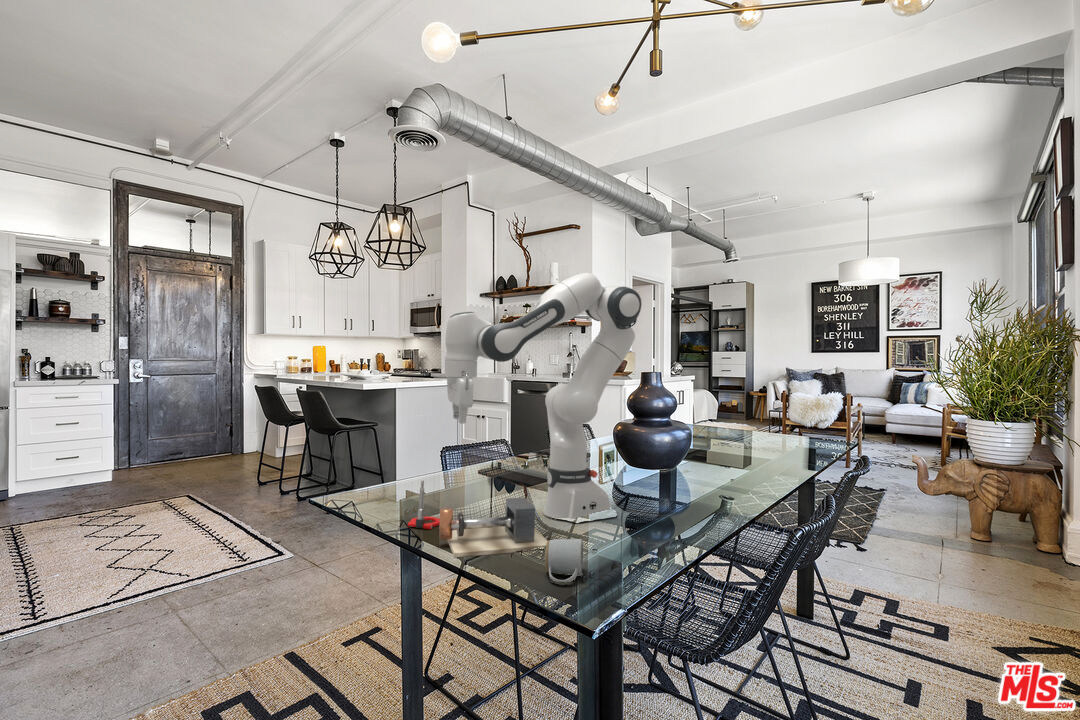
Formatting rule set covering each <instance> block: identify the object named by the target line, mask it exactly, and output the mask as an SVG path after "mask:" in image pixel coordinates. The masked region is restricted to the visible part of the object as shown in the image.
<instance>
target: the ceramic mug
mask: <svg viewBox="0 0 1080 720" xmlns="http://www.w3.org/2000/svg"><path fill="white" fill-rule="evenodd" d="M547 541H548V542H547V543H546V549H544V567H545V570H546V572H547V573H548V572H549V573H548V577H550V578H549V579H552V580H553V581H556V582H565V583H566V582H571V581H573V580H574V581H575V580H576V578H577V575H582V576H583V573H582V574H581V566H583V567H584V543H583V542H584V541H583V539H582V538H575V539H573V538H572V539H571V538H564V539H561V538H557V539H556V538H554V539H549V540H547ZM551 572H552V573H562V574H570V575H572V576H570V577H568V578H566V579H558V578H556V577H554V576H553V574H551Z"/></svg>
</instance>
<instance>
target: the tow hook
mask: <svg viewBox="0 0 1080 720" xmlns="http://www.w3.org/2000/svg"><path fill="white" fill-rule="evenodd" d="M424 499H425V480H420V489H419V499H418V500H419V501H418V502H419V503H418V508H417V517H414V518H411V520H410V521H409V522H408V523H407V527H408V526H412V527H417V528H421V529H420V530H432V529H433V527H437V526H440V517H434V516H424V515H425V510H424V509H425V508H424V504H425V502H424V501H425V500H424ZM429 520H432V521H431V522H427V523H426V521H429Z"/></svg>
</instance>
